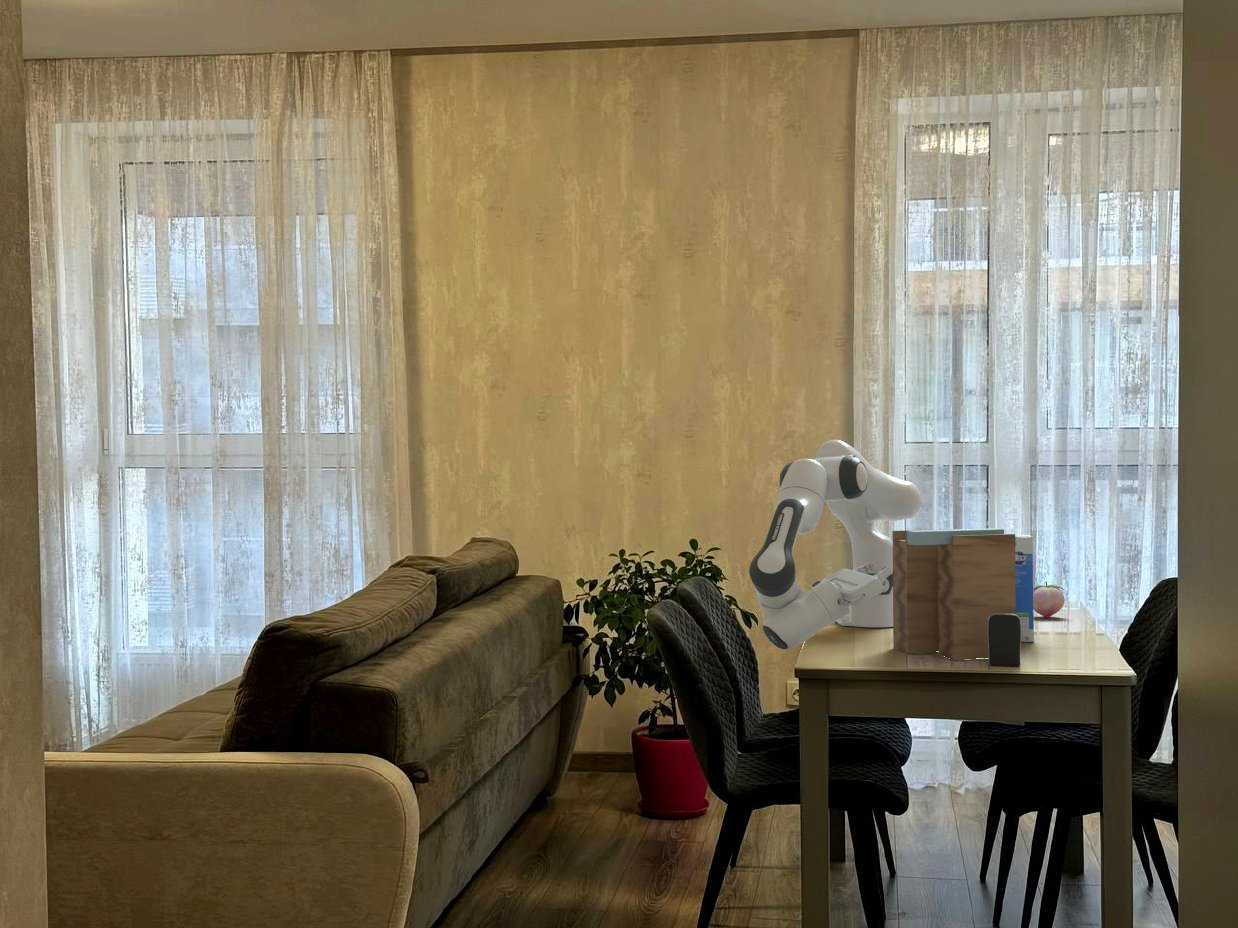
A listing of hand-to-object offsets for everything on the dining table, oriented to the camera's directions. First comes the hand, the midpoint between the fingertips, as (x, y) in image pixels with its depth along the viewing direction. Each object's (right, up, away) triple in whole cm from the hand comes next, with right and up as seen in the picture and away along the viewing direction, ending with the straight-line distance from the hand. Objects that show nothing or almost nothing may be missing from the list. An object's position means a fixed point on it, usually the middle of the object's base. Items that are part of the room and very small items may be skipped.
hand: (881, 567), depth 285 cm
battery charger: (+26, -21, -6) cm, 34 cm away
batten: (+18, +5, +4) cm, 19 cm away
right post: (+23, -21, +5) cm, 31 cm away
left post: (+15, -21, +15) cm, 30 cm away
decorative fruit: (+59, -19, +65) cm, 90 cm away
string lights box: (+36, -20, +28) cm, 50 cm away
